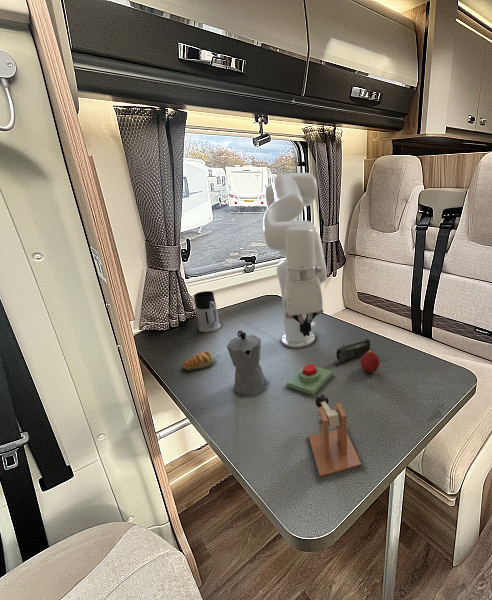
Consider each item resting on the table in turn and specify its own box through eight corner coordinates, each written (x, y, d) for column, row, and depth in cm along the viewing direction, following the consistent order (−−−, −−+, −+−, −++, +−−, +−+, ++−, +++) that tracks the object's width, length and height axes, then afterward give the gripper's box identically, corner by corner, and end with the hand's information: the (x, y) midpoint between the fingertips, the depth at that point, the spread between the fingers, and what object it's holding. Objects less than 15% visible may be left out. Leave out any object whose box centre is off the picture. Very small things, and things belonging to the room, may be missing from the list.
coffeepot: (271, 394, 91) (264, 339, 84) (237, 404, 87) (228, 347, 81) (260, 367, 104) (253, 318, 98) (230, 375, 100) (221, 324, 94)
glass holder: (215, 321, 140) (209, 289, 134) (230, 331, 130) (224, 297, 125) (195, 327, 134) (188, 294, 129) (209, 338, 124) (202, 303, 119)
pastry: (186, 374, 101) (184, 364, 100) (180, 366, 106) (178, 356, 105) (215, 364, 107) (213, 354, 105) (209, 356, 112) (207, 346, 110)
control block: (308, 369, 102) (307, 359, 101) (332, 377, 98) (331, 366, 97) (287, 388, 93) (286, 377, 92) (313, 397, 89) (312, 385, 88)
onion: (368, 365, 104) (369, 343, 101) (382, 372, 100) (383, 349, 97) (357, 372, 100) (356, 350, 97) (371, 380, 96) (371, 357, 93)
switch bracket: (308, 440, 75) (305, 399, 70) (345, 431, 77) (344, 391, 73) (320, 480, 65) (317, 435, 60) (361, 468, 67) (361, 424, 63)
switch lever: (314, 406, 78) (313, 394, 78) (327, 404, 79) (325, 391, 79) (327, 430, 66) (325, 415, 65) (342, 426, 66) (340, 412, 66)
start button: (308, 368, 97) (307, 363, 96) (318, 371, 95) (317, 366, 94) (301, 374, 94) (301, 369, 93) (311, 377, 92) (311, 372, 92)
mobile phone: (366, 336, 112) (331, 348, 104) (372, 339, 110) (337, 352, 102) (366, 349, 114) (332, 361, 106) (371, 352, 112) (337, 365, 104)
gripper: (325, 266, 89) (327, 324, 96) (271, 272, 85) (278, 332, 92) (332, 274, 83) (334, 335, 90) (275, 280, 79) (281, 344, 86)
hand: (305, 333), depth 91 cm, fingers closed
